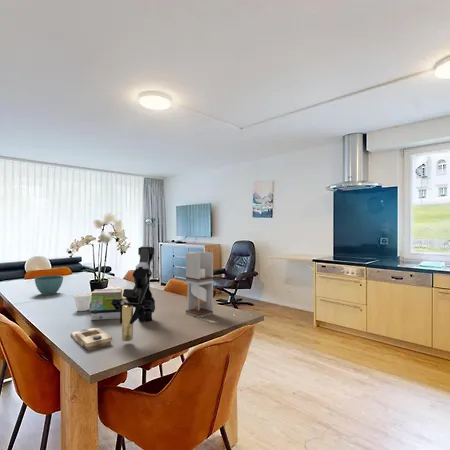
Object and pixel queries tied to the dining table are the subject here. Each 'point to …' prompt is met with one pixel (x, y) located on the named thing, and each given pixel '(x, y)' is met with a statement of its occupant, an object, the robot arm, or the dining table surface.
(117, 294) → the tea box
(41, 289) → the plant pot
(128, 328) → the brass pin
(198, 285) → the grey stand
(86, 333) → the wooden slotted base
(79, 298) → the cup
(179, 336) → the dining table surface
